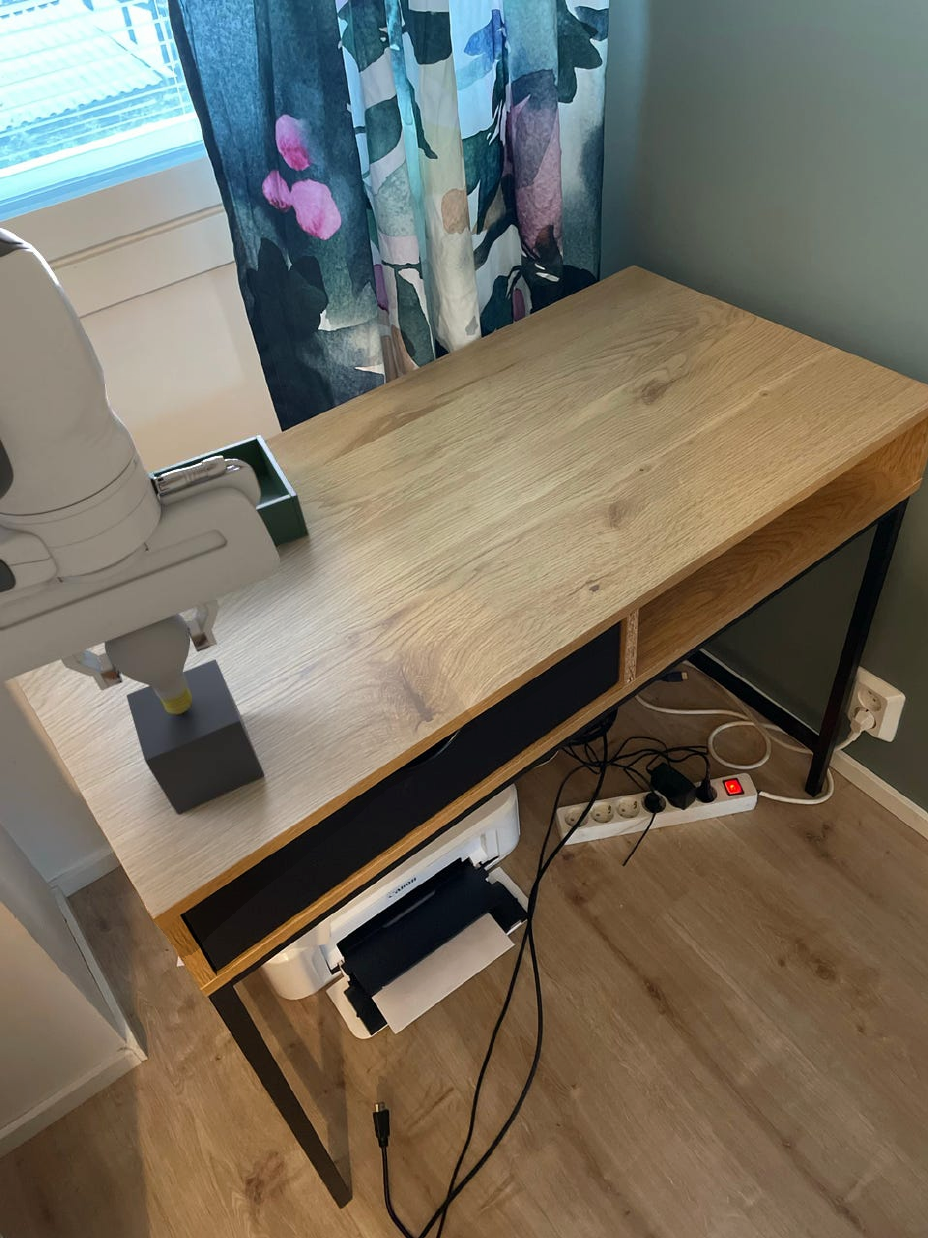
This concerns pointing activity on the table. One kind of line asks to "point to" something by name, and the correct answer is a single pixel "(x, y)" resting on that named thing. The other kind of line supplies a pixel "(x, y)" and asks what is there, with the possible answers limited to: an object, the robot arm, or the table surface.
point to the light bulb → (156, 660)
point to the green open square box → (261, 487)
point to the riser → (195, 740)
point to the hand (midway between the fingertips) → (158, 661)
